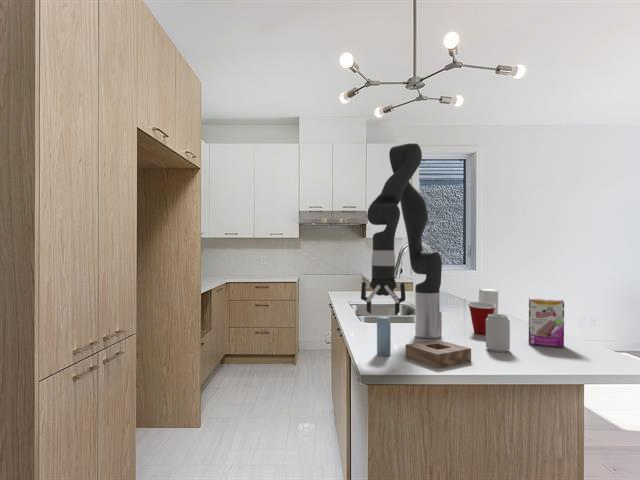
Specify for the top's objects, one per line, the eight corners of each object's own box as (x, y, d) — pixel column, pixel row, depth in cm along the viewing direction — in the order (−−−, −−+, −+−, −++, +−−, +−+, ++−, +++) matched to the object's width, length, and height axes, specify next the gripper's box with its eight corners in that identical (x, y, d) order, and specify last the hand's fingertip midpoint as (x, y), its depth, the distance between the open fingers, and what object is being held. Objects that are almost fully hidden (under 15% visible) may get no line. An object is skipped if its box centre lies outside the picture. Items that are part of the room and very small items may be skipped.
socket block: (437, 351, 142) (437, 339, 142) (471, 361, 130) (471, 348, 130) (405, 357, 135) (405, 344, 135) (438, 368, 123) (438, 354, 123)
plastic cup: (475, 336, 165) (475, 305, 165) (463, 330, 176) (463, 301, 176) (501, 335, 166) (501, 305, 166) (488, 330, 177) (488, 301, 177)
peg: (384, 352, 141) (384, 316, 141) (393, 355, 137) (393, 318, 138) (374, 353, 139) (374, 317, 139) (382, 357, 135) (382, 319, 135)
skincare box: (478, 322, 195) (478, 288, 196) (493, 322, 195) (492, 288, 195) (483, 325, 187) (483, 290, 187) (498, 325, 186) (498, 290, 187)
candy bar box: (528, 345, 151) (528, 299, 151) (528, 342, 155) (528, 297, 156) (564, 348, 146) (564, 300, 146) (563, 345, 151) (563, 299, 151)
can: (508, 348, 146) (508, 313, 146) (510, 353, 139) (510, 317, 139) (485, 346, 149) (485, 312, 149) (486, 352, 141) (486, 316, 142)
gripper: (406, 264, 140) (405, 313, 140) (363, 263, 144) (363, 311, 144) (404, 265, 133) (404, 316, 133) (359, 264, 137) (359, 314, 137)
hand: (382, 313), depth 138 cm, fingers open, 8 cm apart
